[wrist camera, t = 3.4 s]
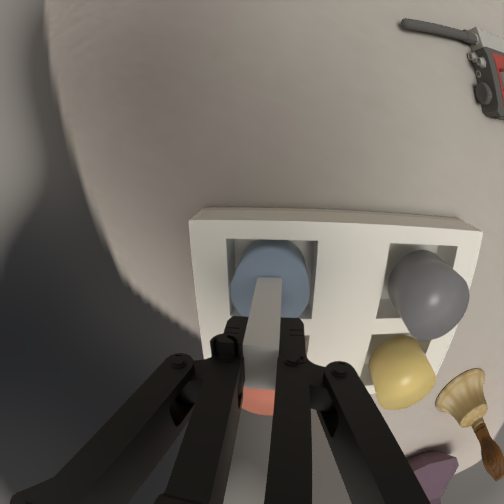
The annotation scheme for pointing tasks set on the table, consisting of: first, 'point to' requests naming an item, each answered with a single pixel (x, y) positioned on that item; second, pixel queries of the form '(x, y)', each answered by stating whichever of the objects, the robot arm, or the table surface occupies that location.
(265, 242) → the button slate
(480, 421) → the hand bell
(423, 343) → the console
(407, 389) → the button mustard
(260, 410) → the button brick
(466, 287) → the button charcoal
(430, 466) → the flask
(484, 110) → the walkie-talkie
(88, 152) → the table surface
